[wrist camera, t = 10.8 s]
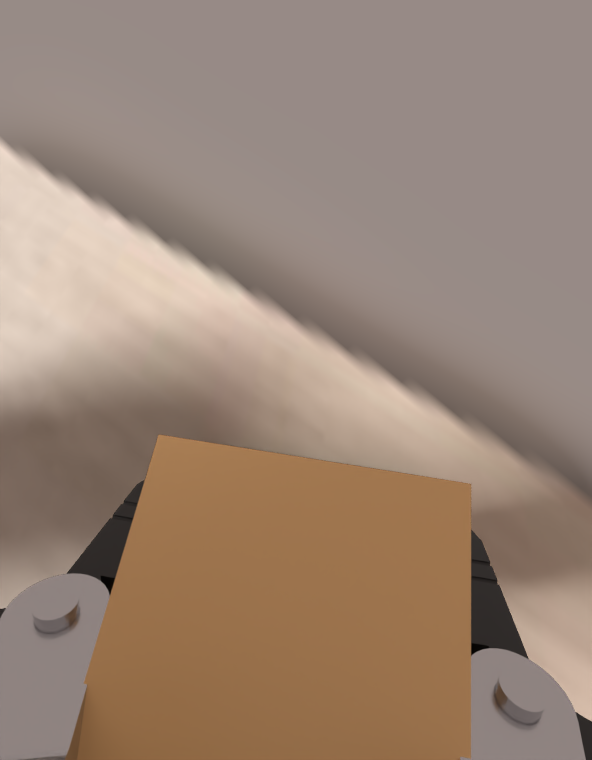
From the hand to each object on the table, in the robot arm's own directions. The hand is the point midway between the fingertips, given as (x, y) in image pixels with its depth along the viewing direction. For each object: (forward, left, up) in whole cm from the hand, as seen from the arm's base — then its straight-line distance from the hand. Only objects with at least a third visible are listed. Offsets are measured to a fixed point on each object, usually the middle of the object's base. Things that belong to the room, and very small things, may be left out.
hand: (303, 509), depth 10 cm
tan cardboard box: (0, -2, -5) cm, 5 cm away
